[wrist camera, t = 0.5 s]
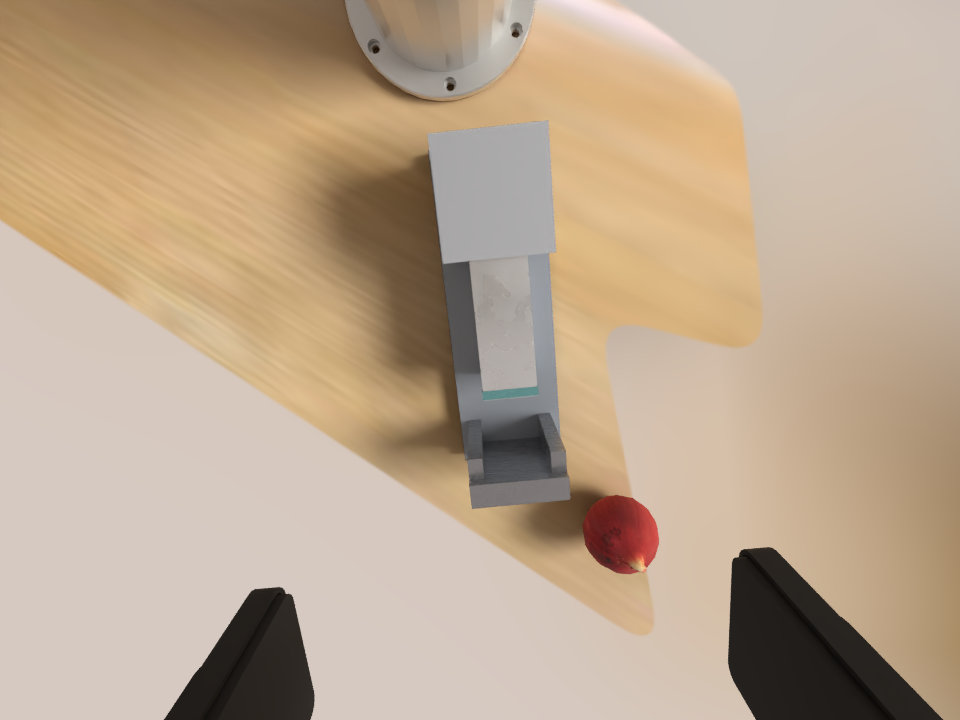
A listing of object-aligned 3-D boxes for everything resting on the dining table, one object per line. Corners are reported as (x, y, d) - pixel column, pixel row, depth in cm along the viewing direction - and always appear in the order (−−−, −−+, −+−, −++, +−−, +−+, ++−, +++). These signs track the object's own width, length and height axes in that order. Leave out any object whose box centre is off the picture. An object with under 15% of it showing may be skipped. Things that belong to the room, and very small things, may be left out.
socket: (469, 420, 38) (466, 465, 31) (550, 412, 38) (567, 456, 31) (473, 456, 39) (472, 508, 31) (552, 448, 39) (570, 499, 31)
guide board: (430, 153, 34) (413, 125, 25) (539, 141, 34) (560, 108, 25) (465, 453, 40) (462, 513, 32) (558, 444, 40) (581, 502, 31)
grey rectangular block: (460, 164, 33) (456, 149, 27) (512, 159, 33) (520, 142, 27) (482, 374, 37) (483, 401, 31) (529, 370, 37) (538, 395, 31)
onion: (580, 541, 43) (603, 608, 35) (570, 485, 41) (591, 542, 33) (644, 529, 42) (681, 595, 35) (636, 472, 41) (673, 528, 33)
